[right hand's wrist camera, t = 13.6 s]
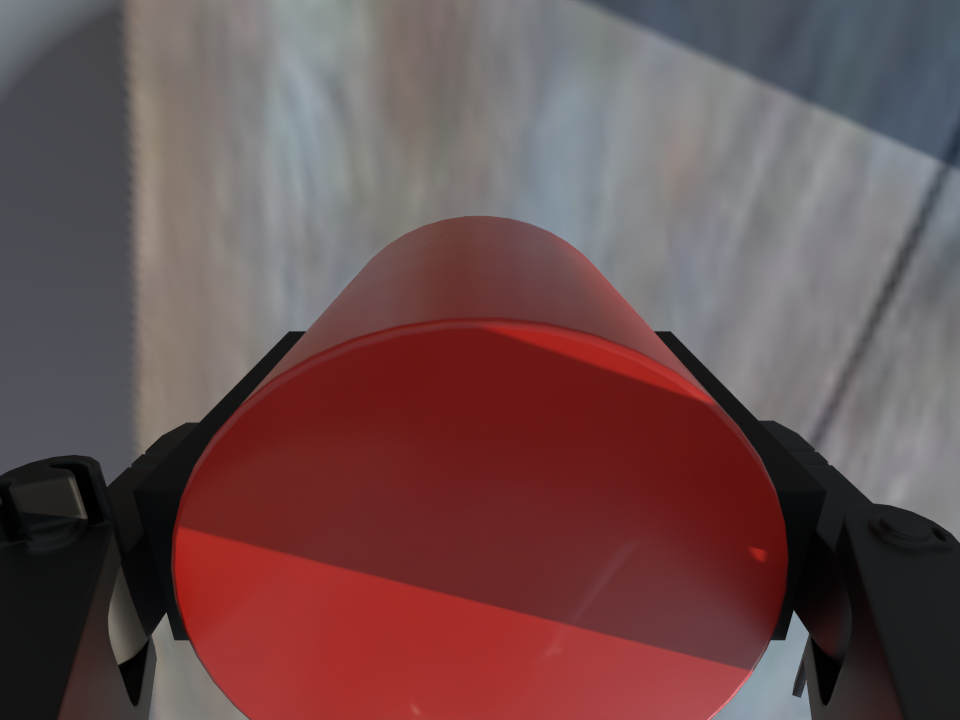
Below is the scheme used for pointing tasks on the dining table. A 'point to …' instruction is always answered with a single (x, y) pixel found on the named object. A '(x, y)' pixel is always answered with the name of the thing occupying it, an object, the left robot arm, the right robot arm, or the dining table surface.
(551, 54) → the dining table surface
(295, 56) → the dining table surface
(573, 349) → the canister
